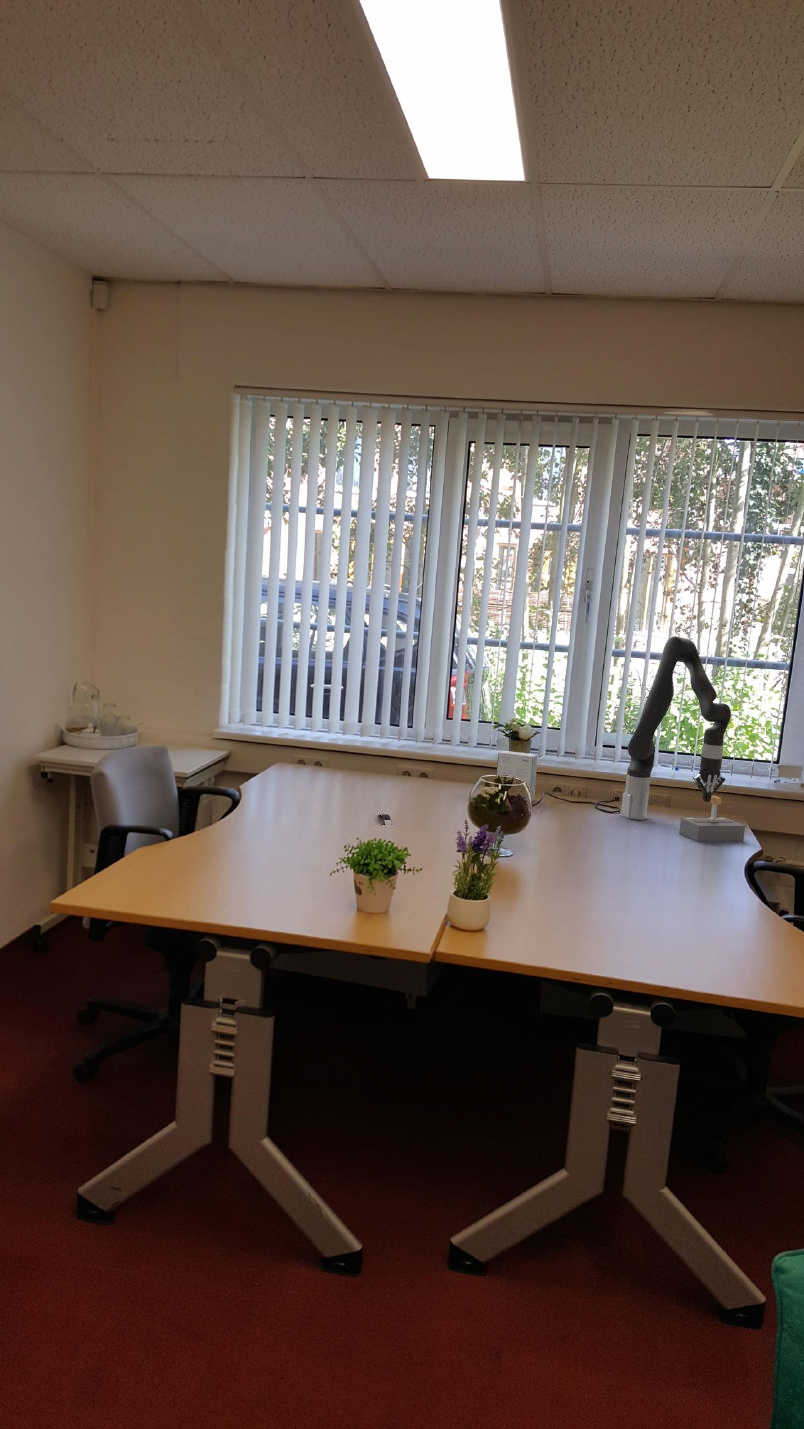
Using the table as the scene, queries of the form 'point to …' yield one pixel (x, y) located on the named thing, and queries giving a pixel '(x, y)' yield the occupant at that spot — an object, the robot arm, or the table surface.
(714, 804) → the breaker handle
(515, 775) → the hard drive box
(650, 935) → the table surface
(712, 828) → the switch box
